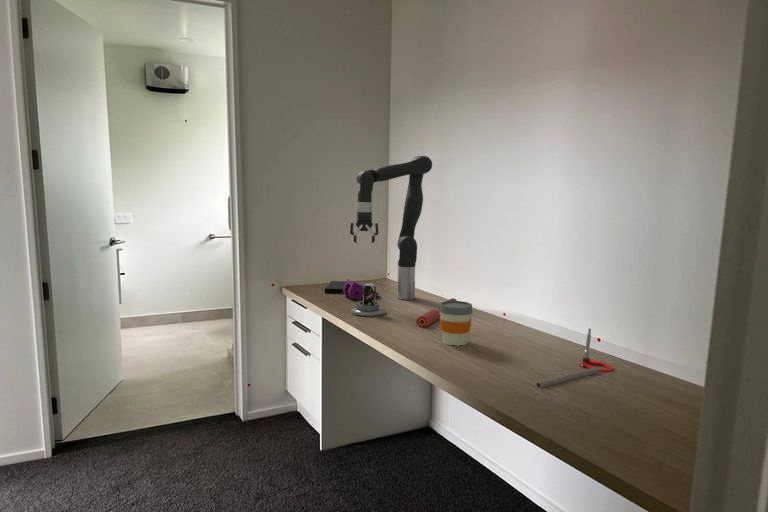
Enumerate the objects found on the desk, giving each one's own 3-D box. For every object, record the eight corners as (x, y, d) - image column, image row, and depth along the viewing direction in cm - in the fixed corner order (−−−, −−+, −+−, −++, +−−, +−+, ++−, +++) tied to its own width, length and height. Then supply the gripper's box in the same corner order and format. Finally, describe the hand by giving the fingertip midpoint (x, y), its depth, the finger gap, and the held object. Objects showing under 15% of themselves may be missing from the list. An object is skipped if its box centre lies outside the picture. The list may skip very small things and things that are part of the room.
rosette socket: (385, 309, 251) (385, 299, 251) (384, 317, 236) (384, 307, 235) (352, 308, 252) (352, 299, 251) (349, 316, 236) (349, 306, 236)
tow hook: (615, 369, 174) (587, 361, 180) (620, 332, 172) (592, 325, 178) (606, 375, 168) (578, 367, 174) (611, 337, 166) (582, 330, 172)
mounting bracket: (368, 305, 285) (340, 293, 277) (374, 291, 285) (347, 279, 277) (375, 309, 276) (347, 297, 268) (381, 294, 277) (353, 282, 269)
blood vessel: (427, 328, 219) (427, 317, 218) (416, 327, 221) (416, 315, 221) (458, 308, 257) (458, 298, 256) (448, 307, 259) (448, 297, 258)
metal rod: (535, 387, 156) (536, 381, 156) (593, 372, 170) (594, 366, 170) (540, 389, 155) (541, 383, 155) (598, 374, 169) (599, 368, 169)
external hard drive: (324, 293, 286) (324, 288, 286) (331, 285, 309) (331, 280, 309) (350, 294, 285) (350, 289, 285) (354, 286, 308) (354, 281, 308)
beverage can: (377, 309, 244) (378, 284, 242) (369, 311, 240) (369, 285, 238) (368, 307, 248) (369, 282, 246) (360, 309, 244) (360, 284, 242)
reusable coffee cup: (460, 336, 207) (462, 299, 205) (477, 345, 196) (479, 306, 194) (432, 339, 203) (433, 301, 201) (447, 348, 191) (449, 309, 189)
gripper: (379, 211, 265) (378, 242, 267) (351, 210, 265) (350, 242, 268) (378, 211, 258) (377, 244, 260) (349, 211, 258) (349, 243, 260)
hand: (364, 243), depth 264 cm, fingers open, 8 cm apart
